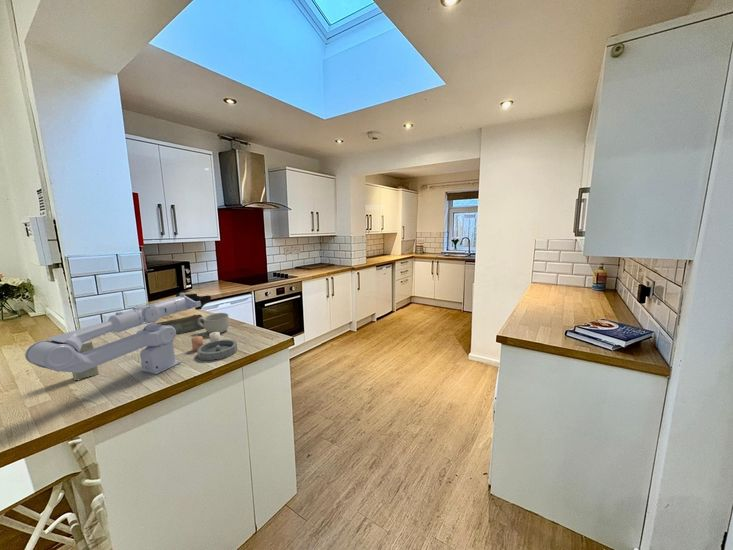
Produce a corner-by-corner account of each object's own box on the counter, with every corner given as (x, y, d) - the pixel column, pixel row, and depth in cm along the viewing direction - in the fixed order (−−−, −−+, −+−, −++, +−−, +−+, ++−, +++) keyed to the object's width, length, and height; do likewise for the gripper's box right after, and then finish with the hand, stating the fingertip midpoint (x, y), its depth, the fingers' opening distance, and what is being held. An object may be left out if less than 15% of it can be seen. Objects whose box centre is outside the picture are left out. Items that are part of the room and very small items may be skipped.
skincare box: (96, 370, 104) (90, 338, 102) (99, 374, 102) (92, 341, 100) (72, 378, 100) (65, 344, 98) (74, 382, 97) (66, 347, 95)
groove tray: (217, 362, 108) (216, 355, 108) (189, 357, 113) (189, 350, 113) (245, 348, 121) (244, 341, 121) (219, 344, 126) (218, 337, 126)
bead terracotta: (197, 352, 118) (196, 340, 118) (190, 350, 120) (189, 339, 119) (206, 348, 122) (204, 336, 121) (199, 346, 124) (197, 335, 123)
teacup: (234, 328, 146) (232, 312, 145) (221, 336, 135) (219, 319, 134) (208, 327, 147) (206, 312, 146) (193, 335, 137) (191, 319, 136)
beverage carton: (157, 334, 141) (156, 321, 140) (202, 325, 153) (201, 312, 152) (159, 338, 135) (157, 325, 134) (205, 328, 147) (204, 316, 146)
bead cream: (215, 347, 123) (214, 335, 122) (208, 346, 124) (207, 334, 123) (223, 343, 127) (221, 332, 126) (216, 342, 128) (214, 331, 127)
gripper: (184, 297, 105) (215, 289, 118) (156, 294, 110) (189, 286, 123) (186, 316, 107) (217, 305, 119) (159, 312, 112) (191, 302, 124)
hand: (203, 297), depth 121 cm, fingers open, 7 cm apart
